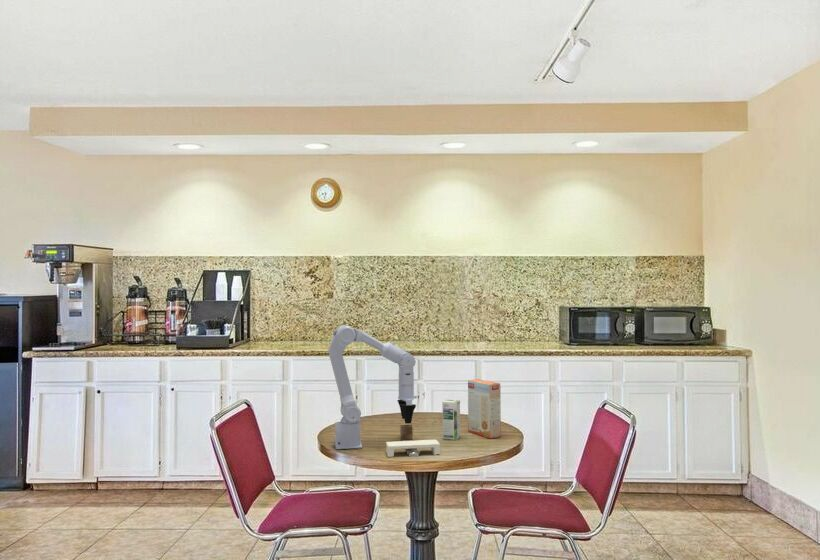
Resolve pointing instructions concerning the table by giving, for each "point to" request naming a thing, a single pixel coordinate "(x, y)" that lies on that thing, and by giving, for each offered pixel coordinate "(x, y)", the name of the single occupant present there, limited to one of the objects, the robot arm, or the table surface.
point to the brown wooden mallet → (406, 434)
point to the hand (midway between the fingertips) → (406, 420)
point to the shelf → (412, 446)
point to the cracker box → (484, 408)
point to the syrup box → (451, 419)
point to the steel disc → (413, 452)
